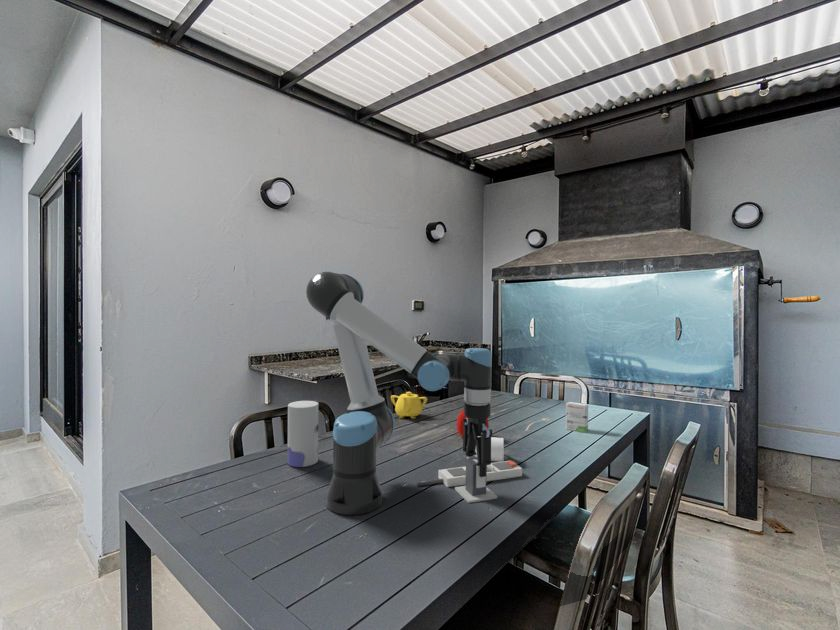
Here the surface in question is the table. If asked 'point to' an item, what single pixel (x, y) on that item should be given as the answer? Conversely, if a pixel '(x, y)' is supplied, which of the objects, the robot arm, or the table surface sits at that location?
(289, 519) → the table surface
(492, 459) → the mug
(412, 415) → the yellow handled pot
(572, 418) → the ink box
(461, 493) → the felt pad
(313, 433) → the container
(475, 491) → the block
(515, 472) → the power strip
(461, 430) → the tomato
